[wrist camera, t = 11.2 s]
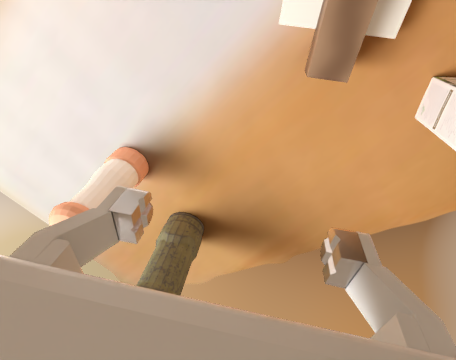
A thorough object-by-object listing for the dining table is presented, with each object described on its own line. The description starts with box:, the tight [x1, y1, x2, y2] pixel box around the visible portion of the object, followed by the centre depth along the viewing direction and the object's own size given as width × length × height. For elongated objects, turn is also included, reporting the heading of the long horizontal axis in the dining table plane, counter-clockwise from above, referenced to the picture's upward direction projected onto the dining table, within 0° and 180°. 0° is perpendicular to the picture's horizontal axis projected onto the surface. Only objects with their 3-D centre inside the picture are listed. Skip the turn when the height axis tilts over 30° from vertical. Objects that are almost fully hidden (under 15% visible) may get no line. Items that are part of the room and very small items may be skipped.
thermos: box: [137, 212, 204, 296], centre depth 42 cm, size 9×12×35 cm
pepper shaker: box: [49, 147, 149, 226], centre depth 40 cm, size 7×7×19 cm
